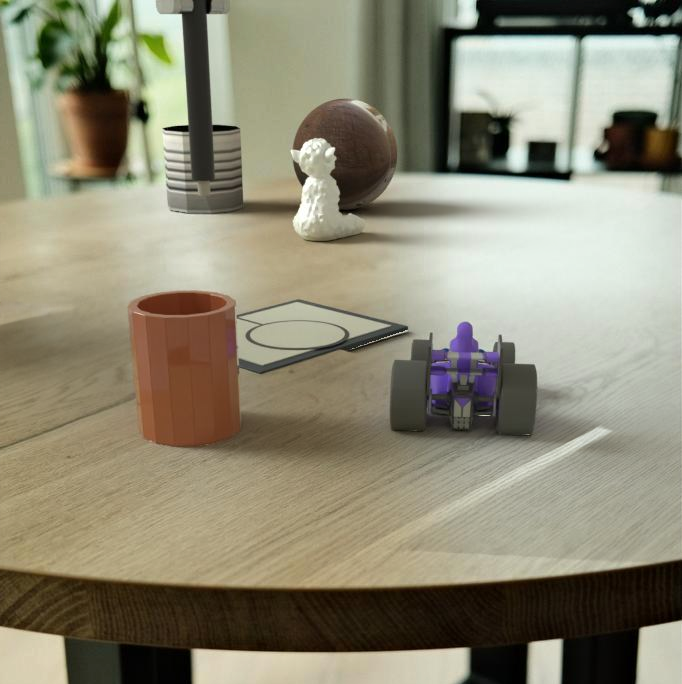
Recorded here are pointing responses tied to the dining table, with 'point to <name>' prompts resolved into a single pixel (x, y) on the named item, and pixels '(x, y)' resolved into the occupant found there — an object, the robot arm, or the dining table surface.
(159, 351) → the cup
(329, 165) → the white creature statuette
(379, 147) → the wooden sphere
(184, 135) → the can
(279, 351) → the white flat board
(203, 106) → the pen
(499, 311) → the dining table surface
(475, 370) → the toy race car
